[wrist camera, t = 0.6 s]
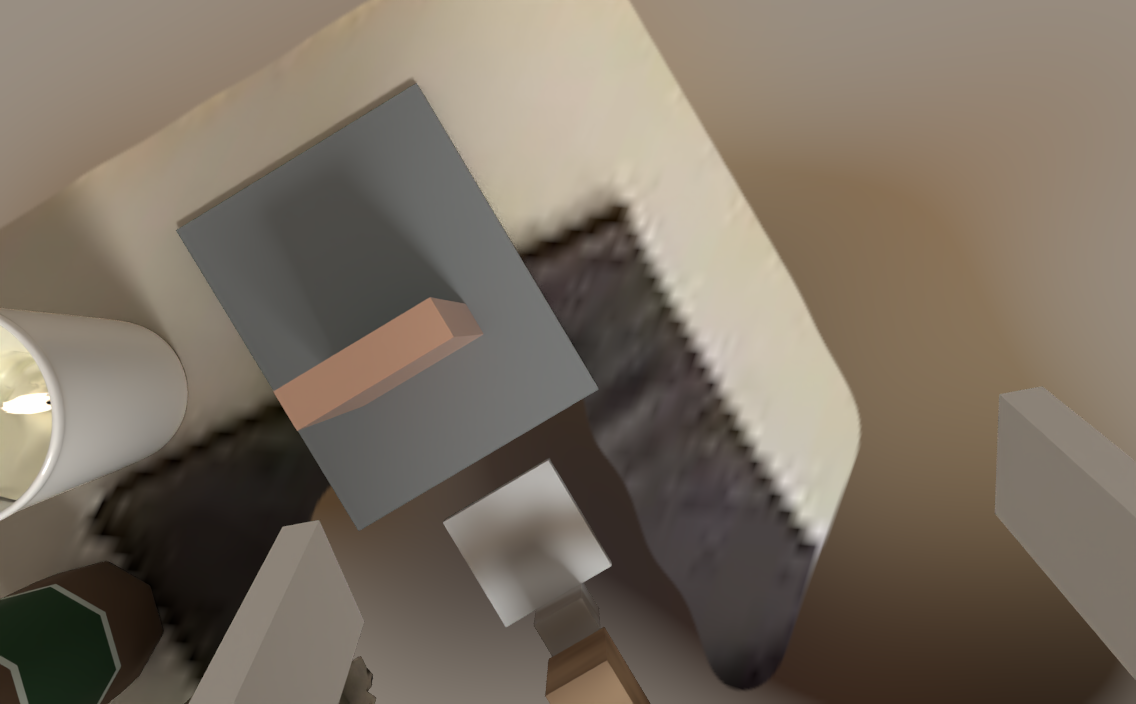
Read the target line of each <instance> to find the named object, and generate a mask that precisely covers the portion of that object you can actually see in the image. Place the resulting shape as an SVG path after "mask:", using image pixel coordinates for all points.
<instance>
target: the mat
mask: <svg viewBox="0 0 1136 704" xmlns="http://www.w3.org/2000/svg"><path fill="white" fill-rule="evenodd" d="M176 231H177V233H178V234H179V236H180V238H181V239H182V241H183V243H184V244H185V246H186V248H187V249H188V251H189V252H190V254H191V256H192V257H193V259H194V261H195V262H196V264H197V266H198V267H199V269H200V271H201V272H202V274H203V276H204V277H205V279H206V280H207V282H208V284H209V285H210V287H211V289H212V290H213V292H214V294H215V295H216V297H217V299H218V300H219V302H220V304H221V305H222V307H223V308H224V310H225V312H226V313H227V315H228V317H229V318H230V320H231V322H232V323H233V325H234V327H235V328H236V330H237V332H238V333H239V335H240V336H241V338H242V340H243V341H244V343H245V345H246V346H247V348H248V350H249V351H250V353H251V355H252V356H253V358H254V360H255V361H256V363H257V364H258V366H259V368H260V369H261V371H262V373H263V374H264V376H265V378H266V379H267V381H268V383H269V384H270V386H271V388H272V389H273V391H275V390H277V389H278V388H280V387H282V386H283V385H285V384H287V383H288V382H290V381H292V380H293V379H295V378H297V377H298V376H300V375H302V374H303V373H305V372H307V371H308V370H310V369H312V368H313V367H315V366H317V365H318V364H320V363H322V362H323V361H325V360H327V359H328V358H330V357H331V356H333V355H335V354H336V353H338V352H340V351H341V350H343V349H345V348H346V347H348V346H350V345H351V344H353V343H355V342H356V341H358V340H360V339H361V338H363V337H365V336H366V335H368V334H370V333H371V332H373V331H375V330H376V329H378V328H380V327H381V326H383V325H385V324H386V323H388V322H390V321H391V320H393V319H395V318H396V317H398V316H400V315H401V314H403V313H405V312H406V311H408V310H410V309H411V308H413V307H415V306H416V305H418V304H420V303H421V302H423V301H425V300H426V299H428V298H430V297H432V298H437V299H443V300H448V301H453V302H459V303H464V304H466V305H467V307H468V309H469V310H470V312H471V314H472V315H473V317H474V319H475V320H476V322H477V324H478V325H479V327H480V329H481V330H482V332H483V335H482V336H480V337H478V338H477V339H475V340H473V341H472V342H470V343H468V344H467V345H465V346H463V347H462V348H460V349H458V350H457V351H455V352H453V353H452V354H450V355H448V356H447V357H445V358H443V359H441V360H440V361H438V362H436V363H435V364H433V365H431V366H430V367H428V368H426V369H425V370H423V371H421V372H420V373H418V374H416V375H415V376H413V377H411V378H410V379H408V380H406V381H405V382H403V383H401V384H400V385H398V386H396V387H395V388H393V389H391V390H390V391H388V392H386V393H385V394H383V395H381V396H380V397H378V398H376V399H375V400H373V401H371V402H370V403H368V404H366V405H365V406H362V407H360V408H357V409H354V410H352V411H349V412H346V413H344V414H341V415H338V416H336V417H333V418H330V419H328V420H325V421H322V422H320V423H317V424H314V425H312V426H309V427H306V428H304V429H301V430H298V432H299V434H300V435H301V437H302V439H303V440H304V442H305V444H306V445H307V447H308V448H309V450H310V452H311V453H312V455H313V457H314V458H315V460H316V462H317V463H318V465H319V467H320V468H321V470H322V472H323V473H324V475H325V476H326V478H327V480H328V481H329V483H330V485H331V486H332V488H333V490H334V491H335V493H336V494H337V496H338V498H339V500H340V501H341V503H342V504H343V506H344V508H345V509H346V511H347V513H348V514H349V516H350V518H351V519H352V521H353V522H354V524H355V526H356V527H357V529H358V531H359V530H361V529H363V528H365V527H366V526H368V525H370V524H371V523H373V522H375V521H377V520H378V519H380V518H381V517H383V516H385V515H387V514H388V513H390V512H392V511H393V510H395V509H397V508H399V507H400V506H402V505H404V504H405V503H407V502H409V501H410V500H412V499H414V498H415V497H417V496H418V495H420V494H422V493H424V492H425V491H427V490H429V489H430V488H432V487H434V486H436V485H437V484H439V483H441V482H442V481H444V480H446V479H448V478H449V477H451V476H453V475H454V474H456V473H458V472H459V471H461V470H463V469H464V468H466V467H468V466H469V465H471V464H473V463H475V462H476V461H478V460H480V459H481V458H483V457H484V456H486V455H488V454H490V453H491V452H493V451H495V450H496V449H498V448H500V447H502V446H503V445H505V444H507V443H508V442H510V441H512V440H513V439H515V438H517V437H518V436H520V435H522V434H523V433H525V432H527V431H529V430H530V429H532V428H534V427H535V426H537V425H539V424H540V423H542V422H544V421H545V420H547V419H549V418H550V417H552V416H554V415H556V414H557V413H559V412H561V411H562V410H564V409H566V408H567V407H569V406H571V405H573V404H574V403H575V402H578V401H579V400H581V399H583V398H584V397H586V396H588V395H589V394H591V393H593V392H594V391H596V390H598V387H597V385H596V383H595V382H594V380H593V378H592V377H591V375H590V373H589V372H588V370H587V368H586V367H585V365H584V363H583V362H582V360H581V358H580V357H579V355H578V353H577V351H576V350H575V348H574V346H573V345H572V343H571V341H570V340H569V338H568V336H567V335H566V333H565V331H564V330H563V328H562V326H561V325H560V323H559V321H558V320H557V318H556V316H555V315H554V313H553V311H552V309H551V308H550V306H549V304H548V303H547V301H546V299H545V298H544V296H543V294H542V293H541V291H540V289H539V288H538V286H537V284H536V283H535V281H534V279H533V278H532V276H531V274H530V273H529V271H528V269H527V267H526V266H525V264H524V262H523V261H522V259H521V257H520V256H519V254H518V252H517V251H516V249H515V247H514V246H513V244H512V242H511V241H510V239H509V237H508V236H507V234H506V232H505V231H504V229H503V227H502V226H501V224H500V222H499V220H498V219H497V217H496V215H495V214H494V212H493V210H492V209H491V207H490V205H489V204H488V202H487V200H486V199H485V197H484V195H483V194H482V192H481V190H480V189H479V187H478V185H477V184H476V182H475V180H474V178H473V177H472V175H471V173H470V172H469V170H468V168H467V167H466V165H465V163H464V162H463V160H462V158H461V157H460V155H459V153H458V152H457V150H456V148H455V147H454V145H453V143H452V142H451V140H450V138H449V136H448V135H447V133H446V131H445V130H444V128H443V126H442V125H441V123H440V121H439V120H438V118H437V116H436V115H435V113H434V111H433V110H432V108H431V106H430V105H429V103H428V101H427V100H426V98H425V96H424V95H423V93H422V91H421V89H420V88H419V86H418V85H417V83H416V84H414V85H412V86H411V87H409V88H407V89H406V90H404V91H403V92H401V93H399V94H398V95H396V96H394V97H393V98H391V99H390V100H388V101H386V102H385V103H383V104H381V105H380V106H378V107H376V108H375V109H373V110H372V111H370V112H368V113H367V114H365V115H363V116H362V117H360V118H359V119H357V120H355V121H354V122H352V123H350V124H349V125H347V126H345V127H344V128H342V129H341V130H339V131H337V132H336V133H334V134H332V135H331V136H329V137H328V138H326V139H324V140H323V141H321V142H319V143H318V144H316V145H314V146H313V147H311V148H310V149H308V150H306V151H305V152H303V153H301V154H300V155H298V156H297V157H295V158H293V159H292V160H290V161H288V162H287V163H285V164H283V165H282V166H280V167H279V168H277V169H275V170H274V171H272V172H270V173H269V174H267V175H266V176H264V177H262V178H261V179H259V180H257V181H256V182H254V183H252V184H251V185H249V186H248V187H246V188H244V189H243V190H241V191H239V192H238V193H236V194H235V195H233V196H231V197H230V198H228V199H226V200H225V201H223V202H221V203H220V204H218V205H217V206H215V207H213V208H212V209H210V210H208V211H207V212H205V213H204V214H202V215H200V216H199V217H197V218H195V219H194V220H192V221H190V222H189V223H187V224H186V225H184V226H182V227H181V228H179V229H177V230H176Z"/></svg>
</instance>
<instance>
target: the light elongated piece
mask: <svg viewBox="0 0 1136 704" xmlns="http://www.w3.org/2000/svg"><path fill="white" fill-rule="evenodd" d="M443 524H444V526H445V527H446V529H447V531H448V532H449V534H450V536H451V537H452V539H453V541H454V542H455V544H456V545H457V547H458V549H459V550H460V552H461V554H462V555H463V557H464V559H465V560H466V562H467V564H468V565H469V567H470V569H471V570H472V572H473V573H474V575H475V577H476V579H477V580H478V582H479V583H480V585H481V587H482V588H483V590H484V592H485V593H486V595H487V597H488V598H489V600H490V602H491V603H492V605H493V607H494V608H495V610H496V612H497V613H498V615H499V617H500V618H501V620H502V622H503V623H504V625H505V627H507V626H509V625H511V624H513V623H514V622H516V621H518V620H519V619H521V618H523V617H525V616H526V615H528V614H530V613H531V612H533V611H535V610H536V613H535V621H534V627H535V628H536V630H537V632H538V633H539V635H540V637H541V638H542V640H543V642H544V643H545V645H546V647H547V648H548V650H549V652H550V653H551V655H552V658H550V659H549V662H548V672H547V683H546V695H545V696H546V698H547V700H548V701H549V703H550V704H650V702H649V700H648V699H647V697H646V696H645V694H644V692H643V690H642V689H641V687H640V685H639V684H638V682H637V680H636V679H635V677H634V676H633V674H632V672H631V670H630V669H629V667H628V665H627V664H626V662H625V661H624V659H623V657H622V655H621V654H620V652H619V651H618V649H617V647H616V645H615V644H614V642H613V641H612V639H611V637H610V636H609V634H608V632H607V631H606V629H605V627H603V628H601V629H600V617H599V608H598V606H597V604H596V602H595V601H594V599H593V598H592V596H591V594H590V592H589V591H588V589H587V587H586V586H585V584H584V581H586V580H588V579H589V578H591V577H593V576H595V575H596V574H598V573H600V572H602V571H603V570H605V569H607V568H609V567H610V566H612V565H611V561H610V559H609V557H608V556H607V554H606V552H605V551H604V549H603V547H602V546H601V544H600V542H599V541H598V539H597V537H596V536H595V534H594V532H593V531H592V529H591V527H590V526H589V524H588V522H587V520H586V519H585V517H584V516H583V514H582V512H581V510H580V509H579V507H578V505H577V504H576V502H575V500H574V499H573V497H572V495H571V494H570V492H569V490H568V489H567V487H566V485H565V484H564V482H563V480H562V479H561V477H560V475H559V474H558V472H557V471H556V469H555V467H554V465H553V464H552V462H551V460H550V459H549V458H548V459H546V460H544V461H543V462H541V463H539V464H538V465H536V466H534V467H533V468H531V469H529V470H527V471H526V472H524V473H522V474H521V475H519V476H517V477H516V478H514V479H512V480H510V481H509V482H507V483H505V484H504V485H502V486H500V487H499V488H497V489H495V490H494V491H492V492H490V493H488V494H487V495H485V496H483V497H482V498H480V499H478V500H477V501H475V502H473V503H472V504H470V505H468V506H466V507H465V508H463V509H461V510H460V511H458V512H457V513H455V514H453V515H451V516H450V517H448V518H446V519H445V520H444V522H443Z"/></svg>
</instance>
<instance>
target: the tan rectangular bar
mask: <svg viewBox="0 0 1136 704" xmlns="http://www.w3.org/2000/svg"><path fill="white" fill-rule="evenodd" d="M482 335H483V332H482V330H481V329H480V327H479V325H478V324H477V322H476V320H475V319H474V317H473V315H472V314H471V312H470V310H469V309H468V307H467V305H466V304H464V303H459V302H453V301H448V300H443V299H437V298H432V297H430V298H428V299H426V300H425V301H423V302H421V303H420V304H418V305H416V306H415V307H413V308H411V309H410V310H408V311H406V312H405V313H403V314H401V315H400V316H398V317H396V318H395V319H393V320H391V321H390V322H388V323H386V324H385V325H383V326H381V327H380V328H378V329H376V330H375V331H373V332H371V333H370V334H368V335H366V336H365V337H363V338H361V339H360V340H358V341H356V342H355V343H353V344H351V345H350V346H348V347H346V348H345V349H343V350H341V351H340V352H338V353H336V354H335V355H333V356H331V357H330V358H328V359H327V360H325V361H323V362H322V363H320V364H318V365H317V366H315V367H313V368H312V369H310V370H308V371H307V372H305V373H303V374H302V375H300V376H298V377H297V378H295V379H293V380H292V381H290V382H288V383H287V384H285V385H283V386H282V387H280V388H278V389H277V390H275V391H273V392H274V394H275V395H276V397H277V399H278V400H279V402H280V404H281V405H282V407H283V409H284V410H285V412H286V414H287V415H288V417H289V418H290V420H291V422H292V423H293V425H294V427H295V428H296V430H297V431H298V430H301V429H304V428H306V427H309V426H312V425H314V424H317V423H320V422H322V421H325V420H328V419H330V418H333V417H336V416H338V415H341V414H344V413H346V412H349V411H352V410H354V409H357V408H360V407H362V406H365V405H366V404H368V403H370V402H371V401H373V400H375V399H376V398H378V397H380V396H381V395H383V394H385V393H386V392H388V391H390V390H391V389H393V388H395V387H396V386H398V385H400V384H401V383H403V382H405V381H406V380H408V379H410V378H411V377H413V376H415V375H416V374H418V373H420V372H421V371H423V370H425V369H426V368H428V367H430V366H431V365H433V364H435V363H436V362H438V361H440V360H441V359H443V358H445V357H447V356H448V355H450V354H452V353H453V352H455V351H457V350H458V349H460V348H462V347H463V346H465V345H467V344H468V343H470V342H472V341H473V340H475V339H477V338H478V337H480V336H482Z"/></svg>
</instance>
